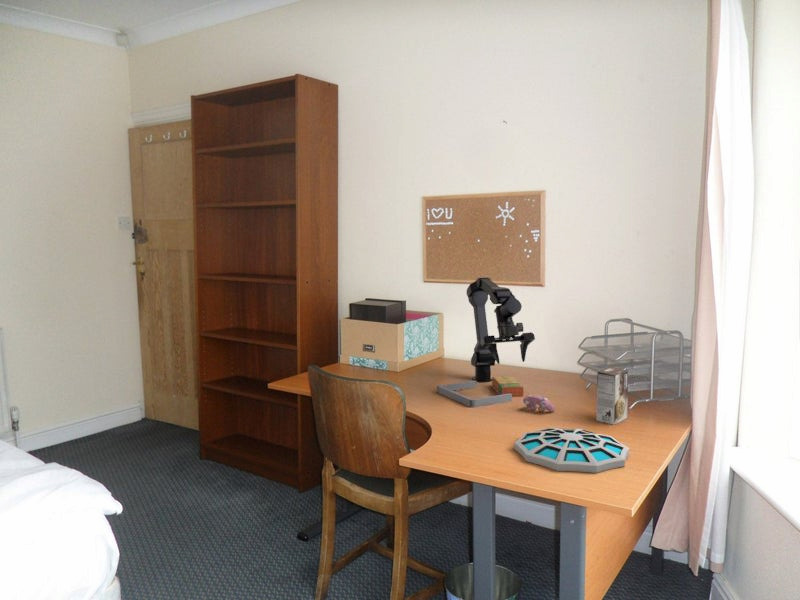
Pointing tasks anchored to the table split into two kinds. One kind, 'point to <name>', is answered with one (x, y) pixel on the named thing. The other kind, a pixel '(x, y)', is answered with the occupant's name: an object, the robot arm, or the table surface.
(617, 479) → the table surface
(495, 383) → the carton
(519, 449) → the decorative platform
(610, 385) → the coffee box
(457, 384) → the display frame
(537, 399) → the video game controller
